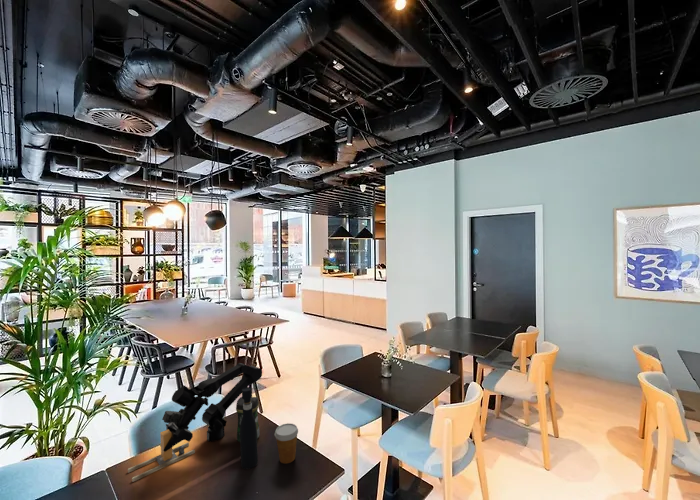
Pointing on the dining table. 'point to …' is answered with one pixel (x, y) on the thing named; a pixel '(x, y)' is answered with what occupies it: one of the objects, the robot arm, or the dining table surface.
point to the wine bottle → (248, 432)
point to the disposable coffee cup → (286, 442)
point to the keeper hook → (181, 450)
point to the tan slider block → (164, 440)
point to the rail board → (159, 465)
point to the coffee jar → (240, 413)
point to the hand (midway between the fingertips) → (162, 448)
